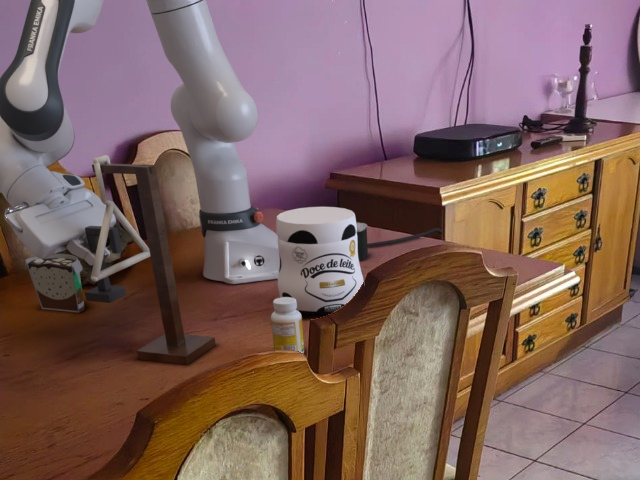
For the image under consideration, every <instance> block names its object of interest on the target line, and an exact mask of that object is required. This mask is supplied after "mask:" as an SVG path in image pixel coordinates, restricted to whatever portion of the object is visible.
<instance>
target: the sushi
mask: <svg viewBox="0 0 640 480" xmlns="http://www.w3.org/2000/svg"><path fill="white" fill-rule="evenodd" d="M356 224H357V241H358V259H359V262H362V261H365V260H366V259H367V258H368V256H369V247H368V246H367V244H368V232H367V231H368V224H367V223H364V222H359V221H358V222H357V221H356Z"/></svg>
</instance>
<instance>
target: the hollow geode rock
mask: <svg viewBox="0 0 640 480" xmlns="http://www.w3.org/2000/svg"><path fill="white" fill-rule="evenodd" d="M113 227H117V228H118V232H119V236H120V241H121V246H122V252H120V253H118V254H115V253H112V249H111V244H110V239H109V236H108V237H107V241H106V246H105V247H106V248H107V250H108V251H109V252H110V256H109V257H108V259H106V260H105V262H106V267H107V268H108V267H111V266H113V265H114V263H115V261H116V260H120V259H121V257H122V256H123V255H124V254H125V251H126V248H127V246H128V243H130V244H131V243H132V242H133V241H134V240H133V238H132V237H131V236H130V234H129V233H128V232H127V231H126V229H123V227H121V226H119V223H118V219H116V223H115V225H114V226H113ZM81 245H82V246H83V247H85V248H86V249H88V250H89V245H88V243H87V242H84V243H82V244H81ZM57 254H67V255H73V256H75V257H77V259H78V260H79V261H80V264H81V266H82V271H81V272H80V279H81V286H88V285H92V286H93V285H97V281H96V282H94V281H92V280H91V274H92V269H93V265H92V266H91V265H89V264H88V263H87V262H86V261H85V260H84V259H82V258H80V257H78V256H76V255H74V254H72V253H71V252H70V251H69V250H68V249H67V250H64V251H62V252H59V253H57Z"/></svg>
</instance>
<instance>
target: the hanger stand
mask: <svg viewBox="0 0 640 480" xmlns="http://www.w3.org/2000/svg"><path fill="white" fill-rule="evenodd" d="M92 162H93V164H91V168H92V172H93V173H95V177H96V181H97V186H98V191H99V196H100V199H101V201H102V203H103V204H105V205H106V209H105V213H104V218H103V223H102V227H101V232H100V237H99V241H98V246H97V251H96V255H95V260H94V265H93V269H92V274H91V280H92V281H94V282H96V281H99V280H101V279H103V278H105V277H107V276H112V275H114V274H116V273H118V272H120V271H122V270H124V269H127V268H128V267H132V266H133V265H135V264H137V263H140V262H141V261H144V260H146V259H148V258H150V261H151V266H152V272H153V277H154V282H155V288H156V293H157V299H158V305H159V310H160V316H161V321H162V326H163V332H164V334H162V335H160V336H159V337H157V338H155V339H154V340H152V341H150V342H149V343H147V344H146V345H144V346H142V347H141V348H139V349H137V350H136V355H137V359H138V360H141V361H148V362H149V361H150V362H158V363H168V364H175V365H183V366H185V365H186V366H188V365H189V364H192V363H193V362H194V361H196V360H197V359H198V358H200V357H201V356H203V355H204V354H206V353H207V352H208V351H210V350H212V349H213V348H214V347H216V346H217V345H216V338H215V336H207V335H197V334H188V333H184V332H185V331H184V326H183V320H182V314H181V308H180V303H179V297H178V292H177V291H178V290H177V285H176V279H175V273H174V268H173V263H172V256H171V251H170V245H169V238H168V233H167V227H166V221H165V215H164V209H163V203H162V196H161V192H160V186H159V180H158V173H157V167H156V164H143V163H142V164H135V163H134V164H133V163H132V164H131V163H111V158H110V156H109V155H108V154H104V155H100V156H97V157H94V158H93V159H92ZM103 174H115V175H116V174H117V175H118V174H119V175H134V176H135V180H136V185H137V191H138V196H139V201H140V206H141V213H142V217H143V223H144V228H145V229H144V230H145V234H146V239H147V244H146V243H145V241H144V240H143V239H142V237H141V236H140V234H139V233H138V232H137V231H136V229H135V228H134V227H133V226H132V224H131V223H130V222H129V220H128V219H127V217H126V216H125V215H124V214H123V213H122V212H121V210H120V209H119V207H118V205H116V204H115V202H114V201H113V200H109V199H107V194H106V188H105V183H104V178H103ZM112 213H113V214H114V215H115V218H116V220H117V221H118V222H119V223H120V225H121V226H122V228H124V230H125V231H127V232H128V233H129V234H130V236H131V237H132V238H133V240H132V241H134V242H135V243H136V245H137V246H138V247H139V249H140V250H141V251H142V252H140V253H137V254H135V255H133V256H131V257H128V258H126V259H124V260H122V261H120V262H117V263H115V264H112V265H111V266H110V267H108V268H106V269H104V270H102V271H100V270H101V265H102V260H103V255H104V251H105V246H106V241H107V237H108V232H109V227H110V223H111V218H112ZM96 283H97V282H96Z"/></svg>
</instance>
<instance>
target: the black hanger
mask: <svg viewBox="0 0 640 480" xmlns="http://www.w3.org/2000/svg"><path fill="white" fill-rule="evenodd" d="M101 227H102V226H88V227H86V228H85V232H86V236H87V241H88V245H89V250H90V251H92V250H94V251H95V252H96V251H97V246H98V241H99V237H100V232H101ZM108 236H109V239H110V244H111V249H112V253H115V254H118V253H120V252H122V246H121V241H120V236H119V232H118V228H117V227H109V232H108ZM106 268H107V267H106V262H105V257H104V255H103V260H102V265H101V270H100V271H102V270H104V269H106ZM109 276H110V275H109ZM109 276H107V277H105V278H103V279H101V280H99V281H97V282H96V286H95V287H93V288H91V289H89V290H87V291H84V296H85V297H84V298H85V300H86V301H87V302H98V303H107V304H111V303H114V302H115V301H117V300H119V299H120V298H123V297H125V296H127V291H126V286H122V285H112V284H111V282H110V281H111V280H110V277H109Z"/></svg>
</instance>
